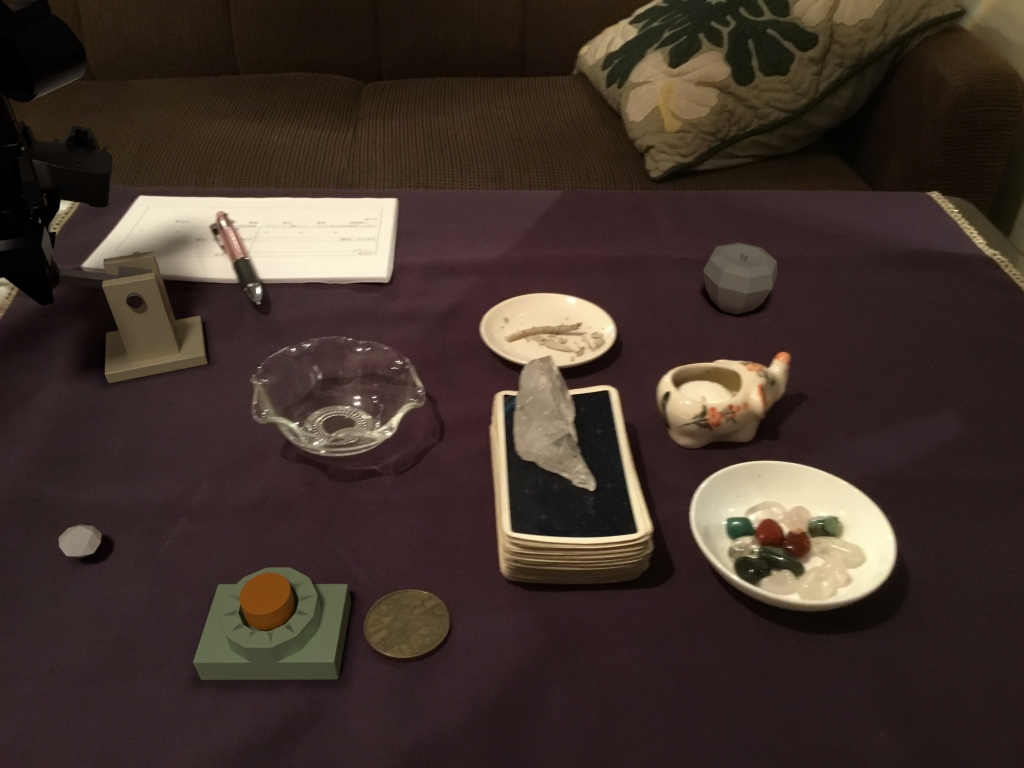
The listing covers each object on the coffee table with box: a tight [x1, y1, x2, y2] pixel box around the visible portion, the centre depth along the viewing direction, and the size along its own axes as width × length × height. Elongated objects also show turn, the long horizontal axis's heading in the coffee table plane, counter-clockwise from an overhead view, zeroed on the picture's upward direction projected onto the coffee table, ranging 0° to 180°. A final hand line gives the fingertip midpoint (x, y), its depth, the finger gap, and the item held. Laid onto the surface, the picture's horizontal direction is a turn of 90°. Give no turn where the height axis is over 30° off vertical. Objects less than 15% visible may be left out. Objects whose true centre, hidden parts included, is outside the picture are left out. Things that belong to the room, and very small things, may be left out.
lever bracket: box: [102, 250, 209, 384], centre depth 75 cm, size 9×7×10 cm
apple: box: [702, 242, 778, 315], centre depth 84 cm, size 8×8×7 cm
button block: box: [192, 566, 352, 681], centre depth 53 cm, size 9×6×4 cm
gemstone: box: [58, 523, 102, 559], centre depth 58 cm, size 3×3×3 cm
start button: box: [239, 573, 295, 630], centre depth 51 cm, size 3×3×2 cm
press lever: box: [48, 259, 152, 290], centre depth 71 cm, size 10×3×3 cm, turn 110°
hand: (49, 293), depth 71 cm, fingers closed on press lever, 3 cm apart
